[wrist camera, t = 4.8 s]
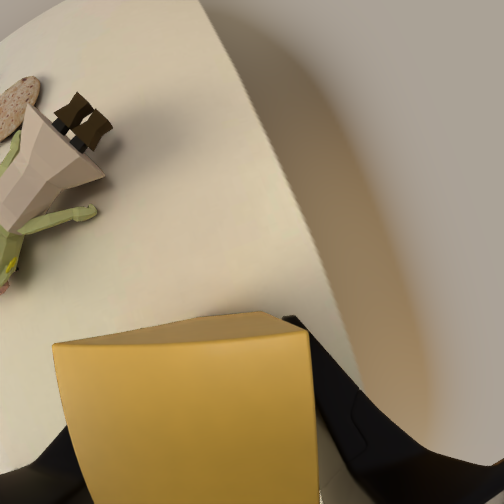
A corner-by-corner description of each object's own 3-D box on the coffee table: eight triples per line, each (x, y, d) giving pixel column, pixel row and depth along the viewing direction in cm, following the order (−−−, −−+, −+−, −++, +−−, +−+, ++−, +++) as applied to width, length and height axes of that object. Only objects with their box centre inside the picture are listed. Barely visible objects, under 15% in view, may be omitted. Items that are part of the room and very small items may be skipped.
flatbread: (50, 69, 19) (46, 63, 18) (31, 130, 18) (25, 125, 17) (-5, 99, 19) (-10, 94, 18) (-24, 159, 17) (-30, 155, 16)
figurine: (71, 94, 16) (-35, 249, 15) (36, 46, 9) (-92, 260, 8) (147, 164, 19) (29, 323, 17) (133, 134, 12) (-18, 363, 10)
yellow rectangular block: (268, 374, 15) (320, 535, 3) (204, 380, 15) (106, 532, 3) (262, 311, 16) (309, 329, 3) (196, 317, 16) (50, 343, 3)
